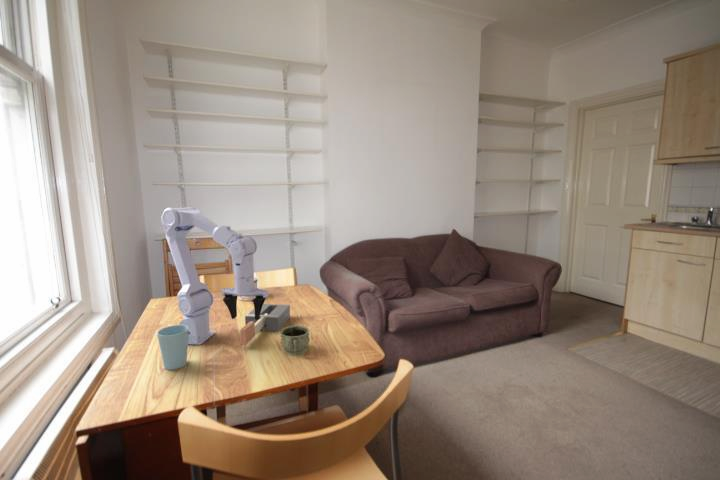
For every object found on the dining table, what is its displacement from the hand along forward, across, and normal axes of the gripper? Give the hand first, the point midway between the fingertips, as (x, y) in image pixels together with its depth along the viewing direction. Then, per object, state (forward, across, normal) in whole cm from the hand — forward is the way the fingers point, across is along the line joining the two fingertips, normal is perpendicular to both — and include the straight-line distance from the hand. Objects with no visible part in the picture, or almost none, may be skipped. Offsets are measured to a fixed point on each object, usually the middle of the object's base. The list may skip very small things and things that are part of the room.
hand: (245, 318), depth 105 cm
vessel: (+10, -16, 0) cm, 19 cm away
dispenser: (+9, 0, -20) cm, 22 cm away
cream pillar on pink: (+8, 0, -8) cm, 11 cm away
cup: (+10, +15, +14) cm, 22 cm away
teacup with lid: (+10, +20, -46) cm, 52 cm away
